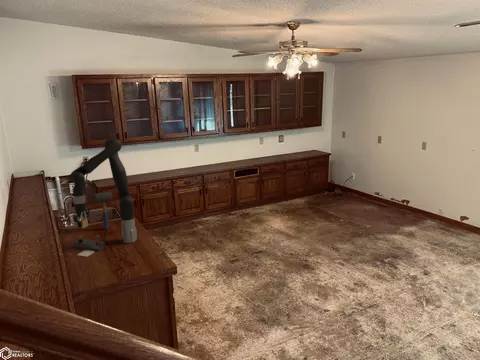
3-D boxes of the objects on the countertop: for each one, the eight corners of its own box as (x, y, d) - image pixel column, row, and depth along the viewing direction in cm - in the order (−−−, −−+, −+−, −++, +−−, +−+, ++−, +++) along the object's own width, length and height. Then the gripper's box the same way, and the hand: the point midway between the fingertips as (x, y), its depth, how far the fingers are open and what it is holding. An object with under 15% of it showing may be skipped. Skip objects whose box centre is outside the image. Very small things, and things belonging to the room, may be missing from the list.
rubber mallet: (98, 232, 284) (94, 195, 277) (97, 228, 291) (93, 192, 283) (115, 229, 290) (112, 192, 282) (114, 226, 296) (110, 190, 288)
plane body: (105, 247, 258) (103, 233, 256) (98, 251, 252) (97, 237, 249) (81, 243, 264) (80, 230, 261) (74, 247, 257) (73, 234, 255)
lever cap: (88, 225, 245) (87, 217, 244) (83, 228, 241) (82, 219, 240) (81, 224, 247) (80, 216, 245) (76, 227, 243) (75, 218, 241)
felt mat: (94, 251, 251) (94, 251, 251) (87, 256, 243) (86, 256, 243) (85, 250, 253) (85, 249, 253) (77, 255, 246) (76, 254, 246)
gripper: (76, 205, 232) (79, 230, 236) (92, 199, 245) (94, 223, 249) (67, 204, 234) (69, 229, 239) (82, 198, 247) (85, 221, 252)
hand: (82, 226), depth 244 cm, fingers closed on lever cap, 4 cm apart
